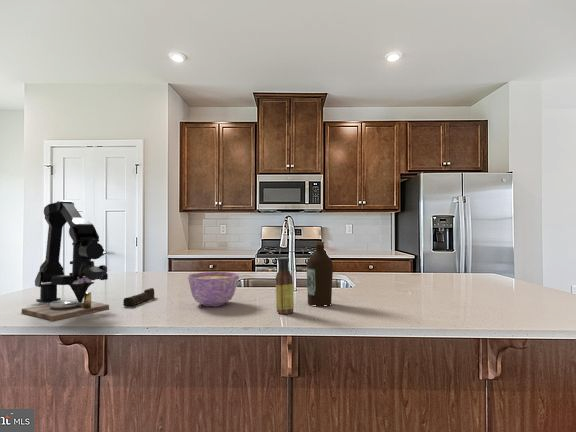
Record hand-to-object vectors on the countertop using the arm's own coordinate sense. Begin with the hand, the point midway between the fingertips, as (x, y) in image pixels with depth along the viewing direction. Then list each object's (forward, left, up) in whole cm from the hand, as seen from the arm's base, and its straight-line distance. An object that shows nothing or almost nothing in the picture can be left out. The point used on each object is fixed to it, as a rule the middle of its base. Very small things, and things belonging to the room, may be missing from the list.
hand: (80, 302), depth 129 cm
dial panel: (-8, 0, -4) cm, 9 cm away
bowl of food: (+30, +36, -4) cm, 47 cm away
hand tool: (+2, +23, -4) cm, 24 cm away
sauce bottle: (+61, +39, -4) cm, 72 cm away
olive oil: (+66, +58, -4) cm, 88 cm away
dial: (-6, 0, -2) cm, 6 cm away
